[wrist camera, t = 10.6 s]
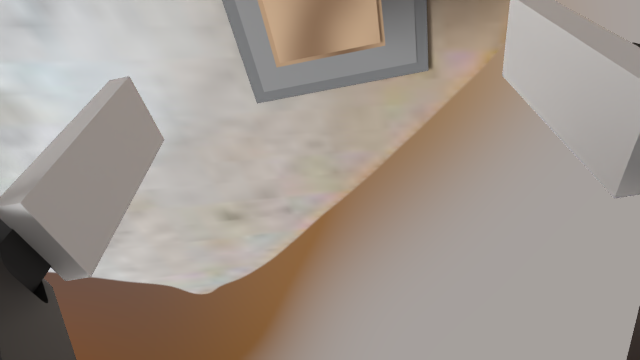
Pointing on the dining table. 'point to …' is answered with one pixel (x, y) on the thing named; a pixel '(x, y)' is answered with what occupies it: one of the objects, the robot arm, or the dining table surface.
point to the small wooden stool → (321, 28)
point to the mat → (336, 71)
